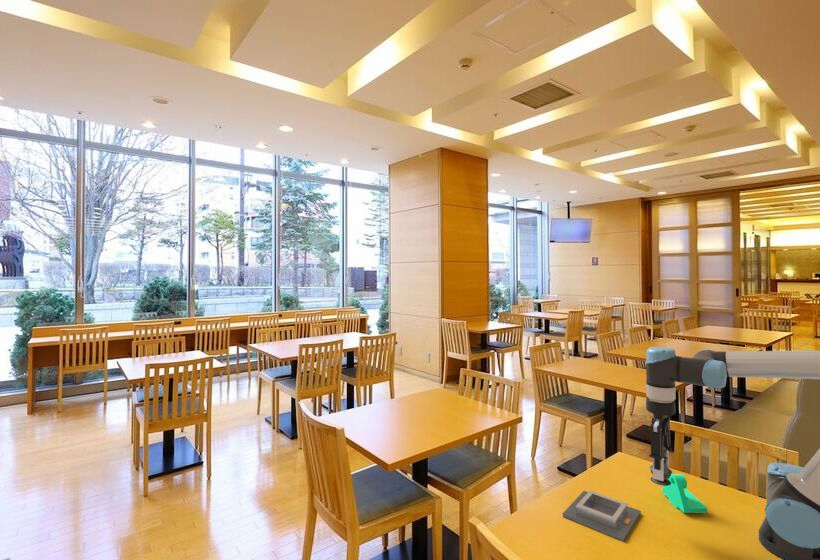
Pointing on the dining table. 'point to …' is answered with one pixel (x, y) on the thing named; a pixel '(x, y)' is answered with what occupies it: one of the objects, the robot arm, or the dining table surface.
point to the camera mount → (682, 495)
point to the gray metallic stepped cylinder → (666, 472)
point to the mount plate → (603, 514)
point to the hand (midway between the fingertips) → (660, 475)
